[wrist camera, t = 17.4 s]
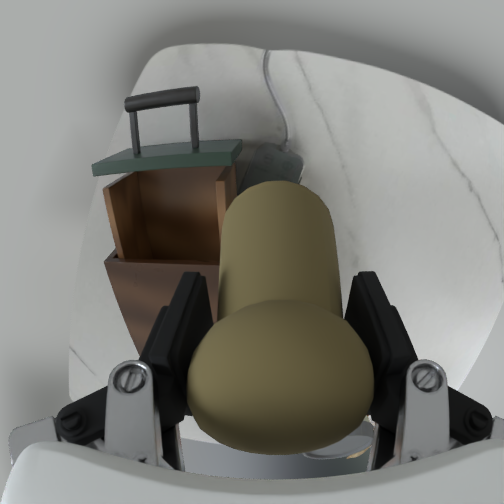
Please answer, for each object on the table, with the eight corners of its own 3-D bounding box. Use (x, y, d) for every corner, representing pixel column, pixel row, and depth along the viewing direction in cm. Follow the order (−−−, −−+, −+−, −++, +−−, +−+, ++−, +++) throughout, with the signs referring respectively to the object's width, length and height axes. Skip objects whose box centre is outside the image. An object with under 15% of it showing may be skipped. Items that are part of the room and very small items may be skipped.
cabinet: (138, 222, 35) (103, 261, 26) (250, 222, 34) (242, 265, 25) (162, 317, 43) (142, 363, 35) (252, 323, 42) (247, 374, 34)
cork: (257, 294, 17) (242, 475, 8) (200, 215, 15) (108, 404, 5) (349, 253, 15) (411, 440, 6) (302, 159, 13) (376, 335, 4)
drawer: (123, 101, 26) (83, 105, 19) (240, 86, 25) (229, 80, 18) (147, 262, 37) (124, 298, 30) (246, 265, 36) (239, 305, 29)
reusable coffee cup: (300, 398, 53) (301, 462, 40) (296, 365, 47) (298, 441, 34) (358, 391, 51) (368, 452, 38) (365, 356, 45) (381, 428, 32)
